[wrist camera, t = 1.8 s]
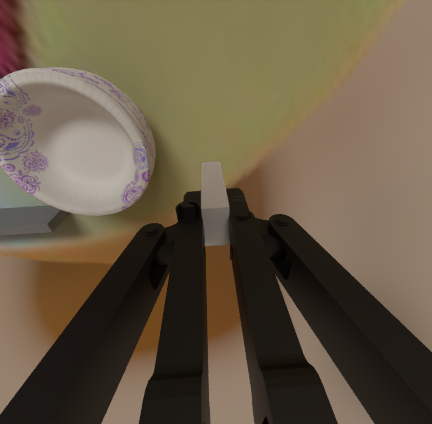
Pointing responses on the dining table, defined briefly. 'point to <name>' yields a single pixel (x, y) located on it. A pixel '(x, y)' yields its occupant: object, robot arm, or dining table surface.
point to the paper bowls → (74, 140)
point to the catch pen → (30, 220)
